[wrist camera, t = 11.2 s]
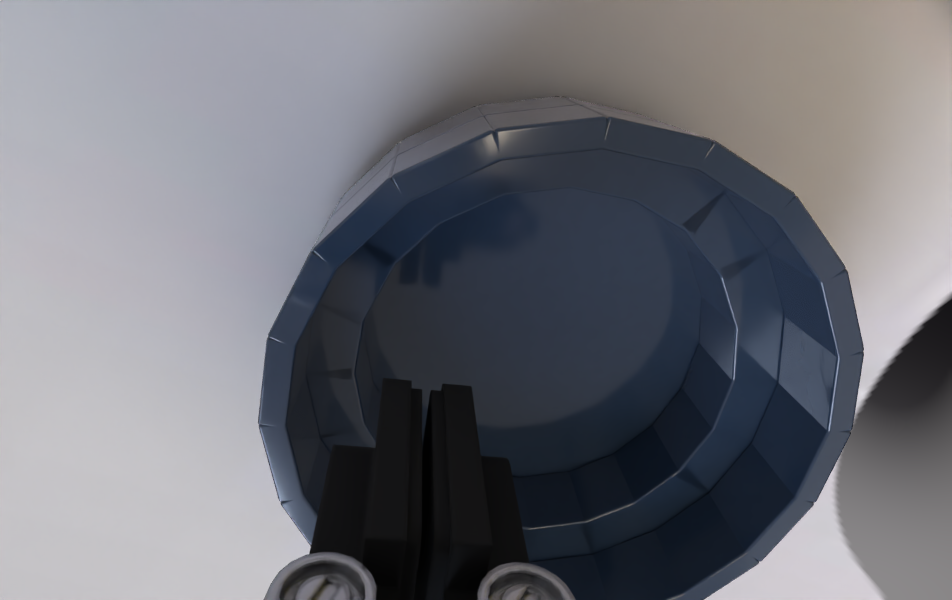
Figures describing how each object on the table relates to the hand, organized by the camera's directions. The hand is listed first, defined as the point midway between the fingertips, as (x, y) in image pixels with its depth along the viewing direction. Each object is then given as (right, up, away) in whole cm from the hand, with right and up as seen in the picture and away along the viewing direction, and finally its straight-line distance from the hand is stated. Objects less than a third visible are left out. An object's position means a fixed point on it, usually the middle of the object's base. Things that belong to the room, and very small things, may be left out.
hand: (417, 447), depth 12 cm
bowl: (+3, +2, +7) cm, 8 cm away
